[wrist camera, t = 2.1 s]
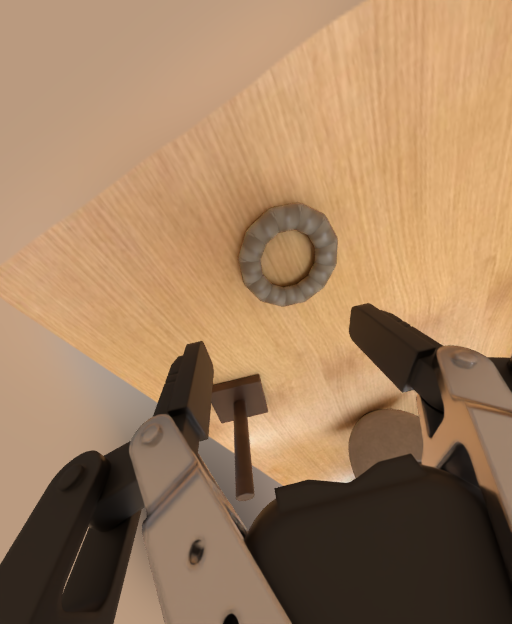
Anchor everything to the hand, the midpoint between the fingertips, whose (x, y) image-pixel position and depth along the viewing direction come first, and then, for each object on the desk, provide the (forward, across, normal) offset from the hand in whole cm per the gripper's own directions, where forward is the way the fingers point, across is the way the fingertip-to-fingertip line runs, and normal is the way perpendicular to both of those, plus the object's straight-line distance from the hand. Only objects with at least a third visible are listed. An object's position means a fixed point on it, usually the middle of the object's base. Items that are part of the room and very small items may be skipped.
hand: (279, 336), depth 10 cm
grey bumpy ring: (+13, -4, 0) cm, 13 cm away
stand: (+14, +7, +23) cm, 28 cm away
